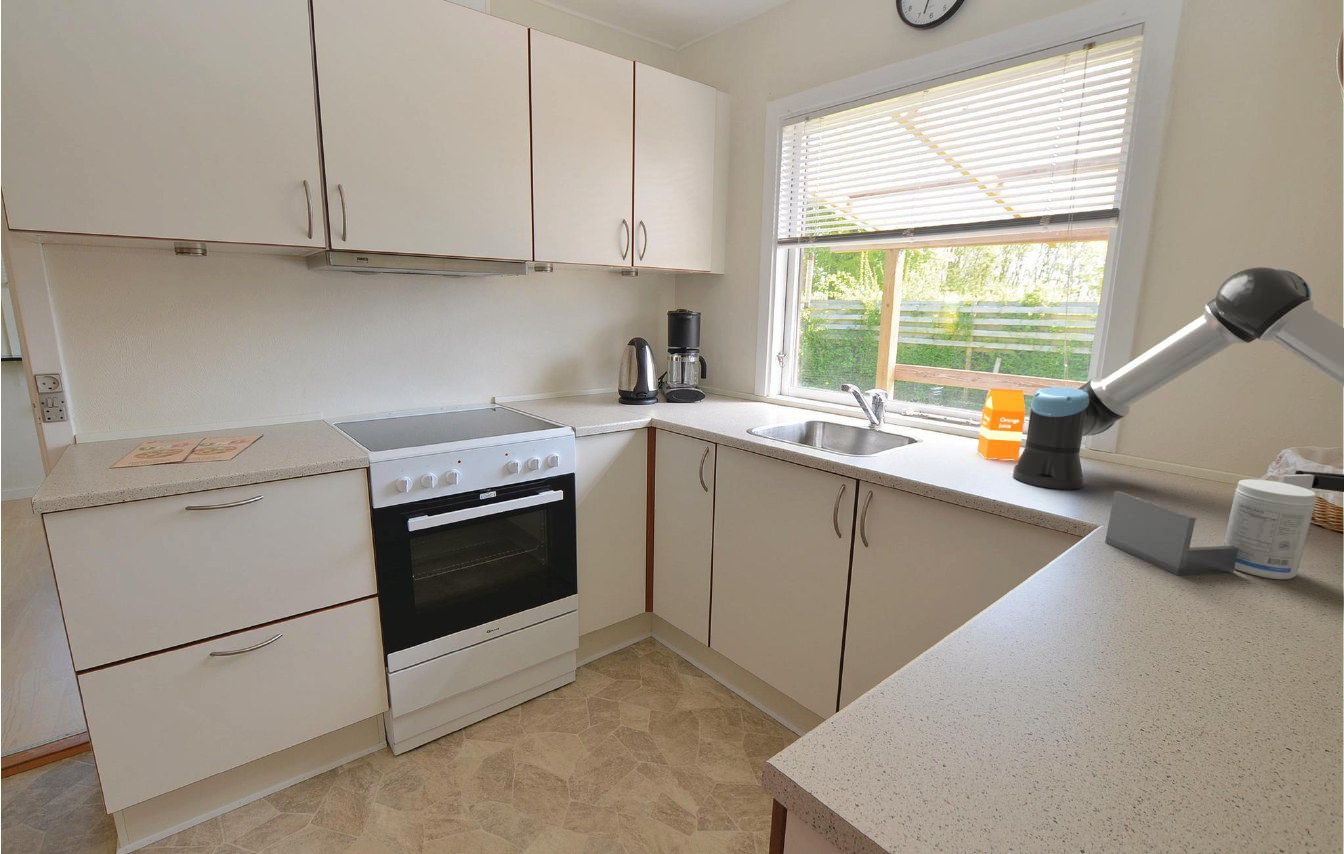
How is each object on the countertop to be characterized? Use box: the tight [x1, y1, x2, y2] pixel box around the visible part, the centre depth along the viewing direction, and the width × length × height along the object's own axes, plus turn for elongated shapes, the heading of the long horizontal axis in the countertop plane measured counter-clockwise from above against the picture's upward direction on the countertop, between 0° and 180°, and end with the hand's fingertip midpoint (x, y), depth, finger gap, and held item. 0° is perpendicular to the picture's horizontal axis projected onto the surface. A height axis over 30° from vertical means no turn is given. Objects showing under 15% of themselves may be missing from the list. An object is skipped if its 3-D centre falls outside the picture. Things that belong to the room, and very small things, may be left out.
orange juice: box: [977, 388, 1026, 461], centre depth 174 cm, size 8×9×20 cm
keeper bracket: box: [1104, 490, 1239, 576], centre depth 106 cm, size 14×11×10 cm
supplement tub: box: [1222, 478, 1317, 580], centre depth 101 cm, size 10×10×15 cm
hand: (1326, 494), depth 101 cm, fingers open, 13 cm apart
